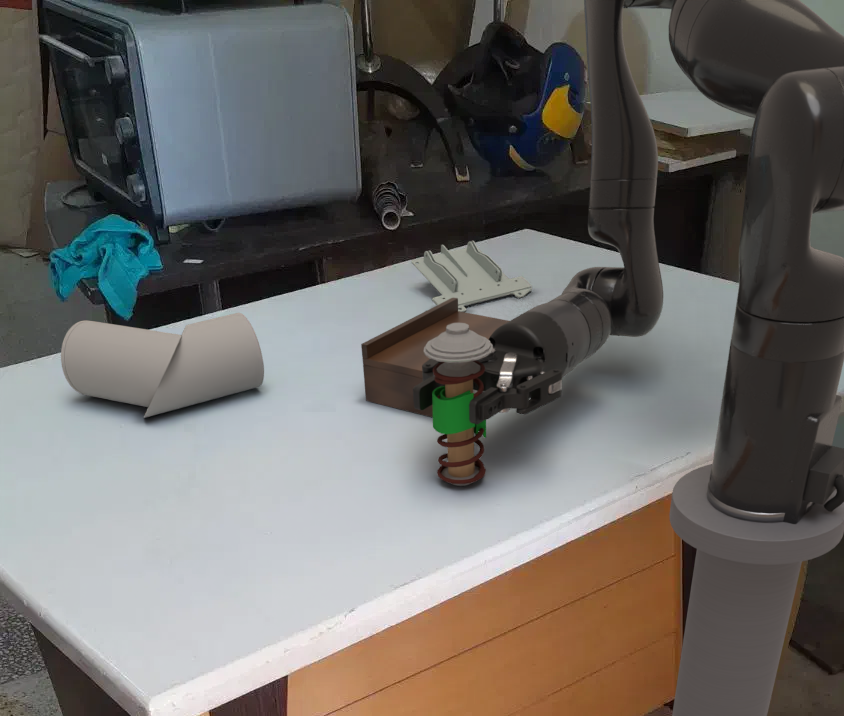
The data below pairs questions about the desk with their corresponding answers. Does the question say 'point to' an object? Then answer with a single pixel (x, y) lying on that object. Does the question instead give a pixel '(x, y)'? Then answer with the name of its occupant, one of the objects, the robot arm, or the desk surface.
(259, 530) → the desk surface
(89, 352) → the elbow connector
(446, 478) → the shock absorber
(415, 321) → the shelf
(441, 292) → the metal bracket
